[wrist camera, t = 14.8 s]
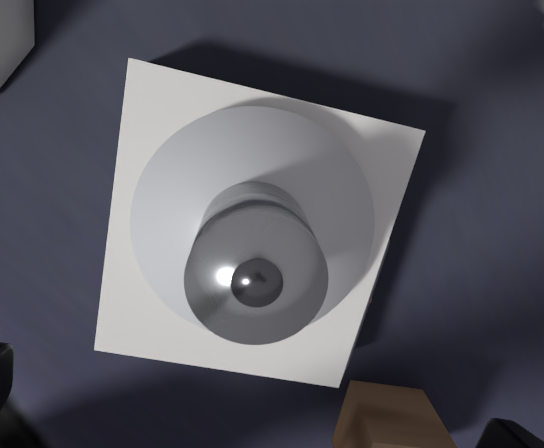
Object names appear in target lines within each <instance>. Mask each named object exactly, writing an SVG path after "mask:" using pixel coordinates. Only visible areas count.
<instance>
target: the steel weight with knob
mask: <svg viewBox="0 0 544 448" xmlns="http://www.w3.org/2000/svg"><path fill="white" fill-rule="evenodd" d="M328 281H329V276H328V267H327V263H326V260H325V257H324V254H323V252H322V250H321V248H320V246H319V244H318V241H317V239H316V237H315V235H314V233H313V231H312V229H311V227H310V225H309V223H308V221H307V218H306V216H305V214H304V212H303V210H302V208H301V207H300V205H299V204H298V202H297V201H296V200H295V199H294V198H293V197H292V196H291V195H290V194H289V193H288V192H286V191H285V190H283V189H282V188H280V187H278V186H275V185H273V184H270V183H266V182H259V181H250V182H243V183H239V184H236V185H233V186H230V187H229V188H227V189H225V190H223V191H222V192H221V193H219V194H218V195H217V196H216V197H215V198H214V199H213V200H212V201H211V203H210V204H209V205H208V207H207V209H206V210H205V213H204V215H203V218H202V220H201V223H200V226H199V229H198V232H197V234H196V237H195V240H194V243H193V246H192V248H191V251H190V254H189V257H188V259H187V263H186V267H185V271H184V290H185V295H186V298H187V301H188V304H189V306H190V308H191V310H192V312H193V313H194V315H195V316H196V318H197V319H198V320H199V321H200V322H201V323H202V324H203V325H204V326H205V327H206V328H207V329H208V330H210V331H211V332H213V333H214V334H216V335H217V336H219V337H221V338H223V339H226V340H229V341H231V342H235V343H239V344H246V345H264V344H271V343H275V342H279V341H281V340H284V339H287V338H289V337H291V336H293V335H295V334H296V333H298V332H299V331H301V330H302V329H303V328H304V327H306V326H307V325H308V324H309V323H310V322H311V321H312V320H313V319H314V317H315V316H316V315H317V313H318V312H319V310H320V308H321V307H322V305H323V303H324V300H325V297H326V294H327V289H328Z"/></svg>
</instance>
